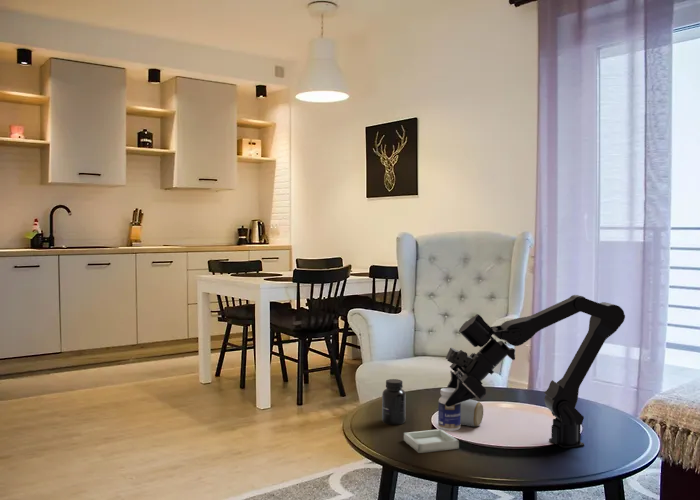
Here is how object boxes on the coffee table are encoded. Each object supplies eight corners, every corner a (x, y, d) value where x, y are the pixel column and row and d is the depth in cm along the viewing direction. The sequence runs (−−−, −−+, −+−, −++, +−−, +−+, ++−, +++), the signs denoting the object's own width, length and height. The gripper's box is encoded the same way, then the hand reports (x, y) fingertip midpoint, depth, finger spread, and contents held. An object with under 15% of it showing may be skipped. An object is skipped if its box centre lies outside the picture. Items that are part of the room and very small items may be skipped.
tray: (441, 436, 169) (441, 428, 169) (458, 448, 159) (458, 440, 159) (403, 440, 165) (403, 432, 165) (418, 453, 156) (419, 445, 156)
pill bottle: (445, 432, 159) (445, 393, 158) (434, 426, 164) (434, 388, 163) (464, 429, 161) (465, 391, 161) (452, 423, 166) (452, 386, 166)
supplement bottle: (378, 423, 180) (378, 382, 180) (386, 417, 186) (386, 377, 186) (401, 426, 177) (401, 384, 177) (408, 419, 184) (408, 379, 183)
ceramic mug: (476, 430, 174) (476, 402, 174) (448, 425, 178) (448, 398, 178) (488, 421, 183) (488, 395, 183) (461, 417, 187) (461, 391, 187)
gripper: (457, 332, 171) (417, 372, 171) (472, 344, 152) (427, 389, 152) (486, 360, 171) (446, 400, 172) (504, 376, 153) (459, 421, 153)
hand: (444, 402), depth 162 cm, fingers closed on pill bottle, 6 cm apart
